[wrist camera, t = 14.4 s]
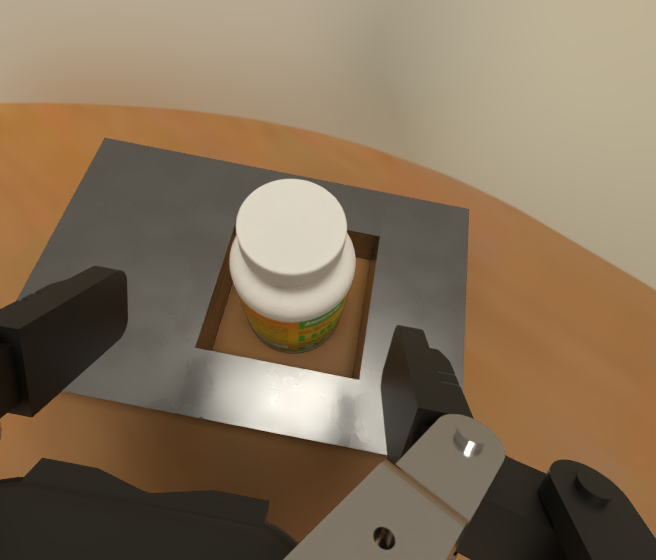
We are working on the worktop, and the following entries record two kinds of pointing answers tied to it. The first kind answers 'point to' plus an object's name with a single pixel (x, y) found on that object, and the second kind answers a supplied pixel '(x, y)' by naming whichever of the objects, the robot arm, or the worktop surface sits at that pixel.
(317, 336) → the supplement bottle
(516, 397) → the worktop surface
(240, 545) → the robot arm
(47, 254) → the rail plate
